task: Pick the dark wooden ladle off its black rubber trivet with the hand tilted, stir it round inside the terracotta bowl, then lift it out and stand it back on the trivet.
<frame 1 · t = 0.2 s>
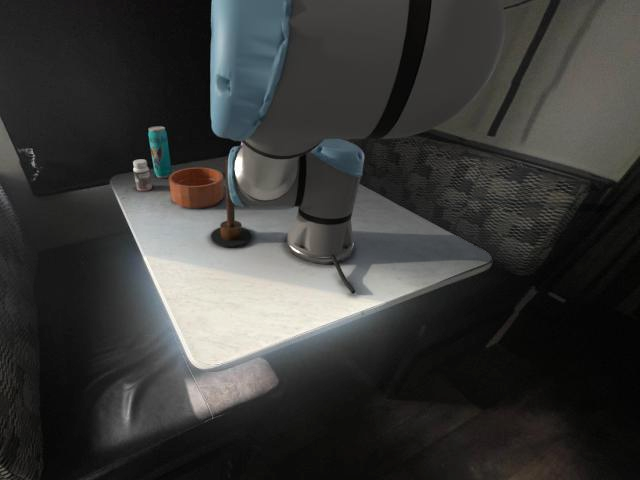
hand: (260, 145, 91), 15 cm above the table, tool tilted 35°, fingers open, 13 cm apart
ladle: (231, 235, 82), point 1 cm above the table, touching trivet
pill bottle: (144, 188, 107), on the table
teapot: (255, 167, 121), on the table
trivet: (231, 237, 82), on the table
beverage can: (163, 176, 115), on the table
bowl: (197, 198, 101), on the table
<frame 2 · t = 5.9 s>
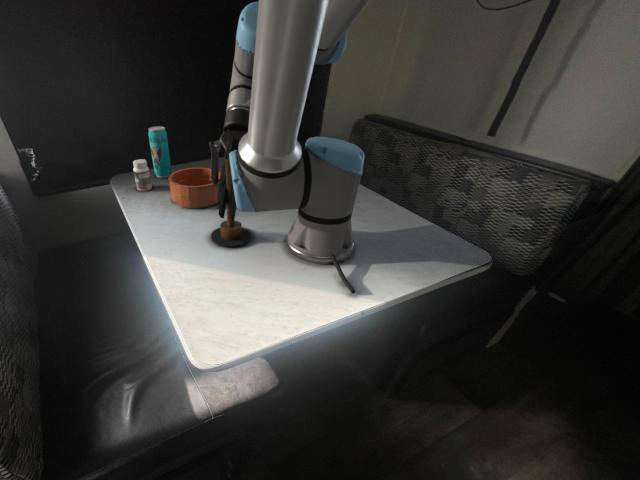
hand: (226, 216, 75), 7 cm above the table, tool tilted 45°, fingers closed on ladle, 2 cm apart
ladle: (231, 235, 82), point 1 cm above the table, touching gripper, trivet
everything else where it was.
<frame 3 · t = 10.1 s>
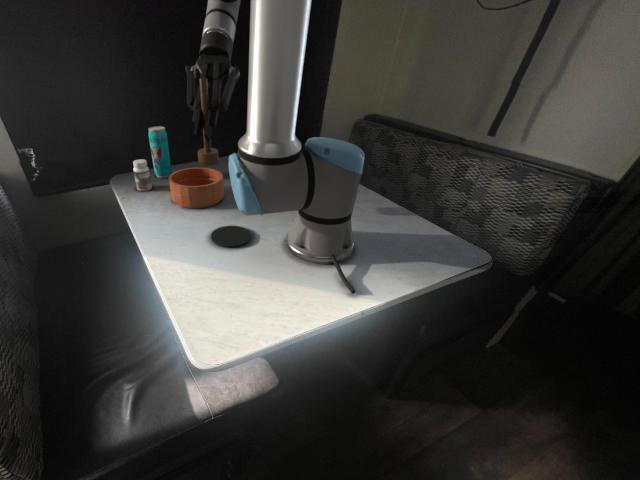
hand: (201, 137, 78), 20 cm above the table, tool tilted 45°, fingers closed on ladle, 2 cm apart
ladle: (208, 162, 85), point 13 cm above the table, touching gripper
everything else where it was.
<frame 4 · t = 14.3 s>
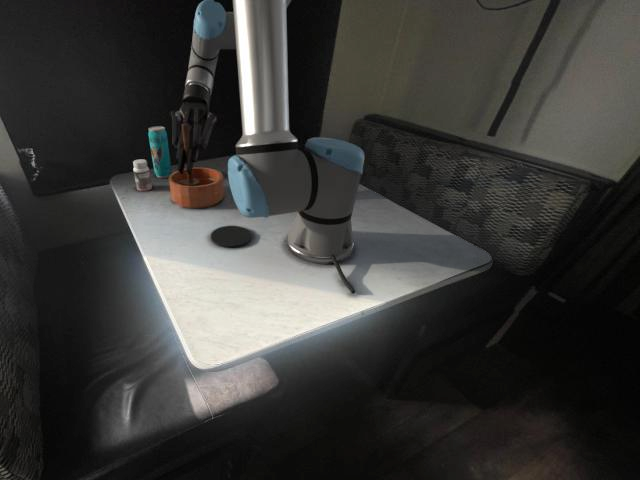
hand: (184, 171, 92), 9 cm above the table, tool tilted 45°, fingers closed on ladle, 2 cm apart
ladle: (191, 190, 100), point 2 cm above the table, touching gripper
everything else where it was.
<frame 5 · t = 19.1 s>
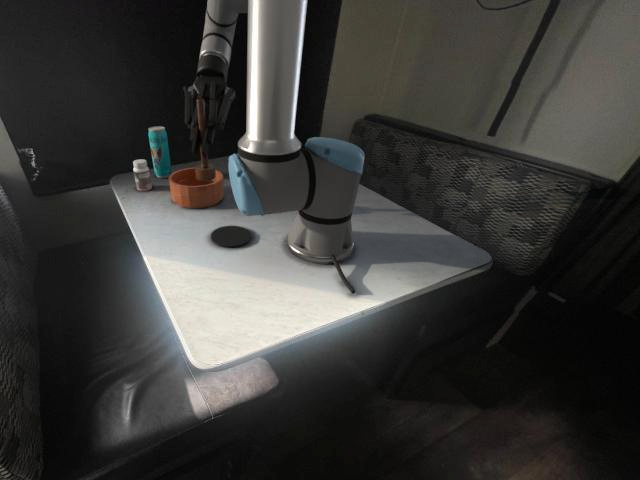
hand: (199, 155, 81), 16 cm above the table, tool tilted 45°, fingers closed on ladle, 2 cm apart
ladle: (205, 177, 88), point 9 cm above the table, touching gripper
everything else where it was.
when the fingers open (7 cm above the table, at t = 22.8 s): ladle stays where it is, resting on trivet.
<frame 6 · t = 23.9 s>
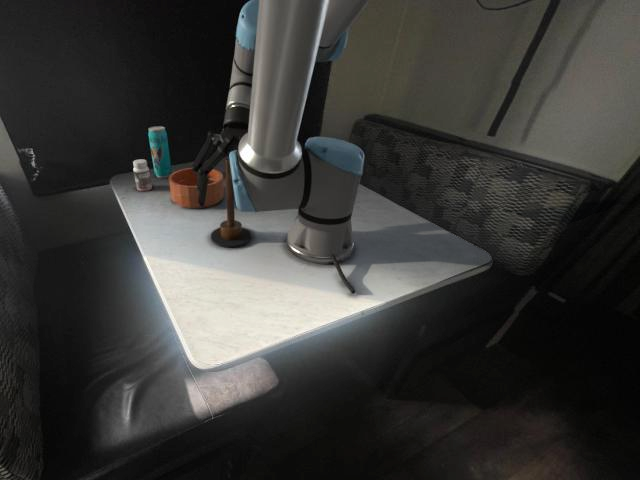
hand: (226, 207, 75), 9 cm above the table, tool tilted 45°, fingers open, 11 cm apart
ladle: (231, 234, 82), point 1 cm above the table, touching trivet
everything else where it was.
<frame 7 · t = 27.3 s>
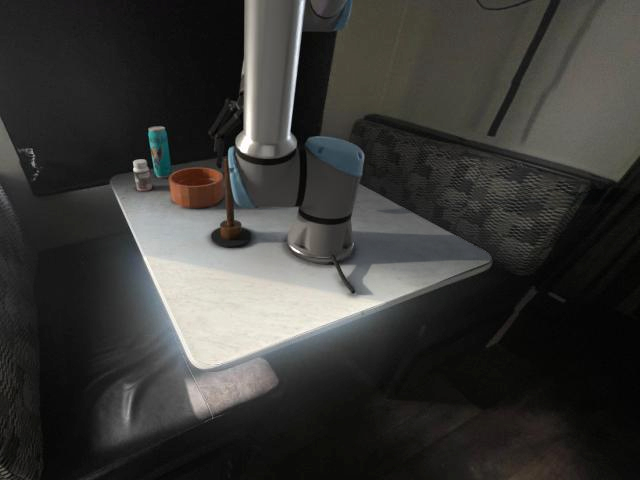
hand: (244, 168, 84), 12 cm above the table, tool tilted 40°, fingers open, 13 cm apart
nothing on the table moved.
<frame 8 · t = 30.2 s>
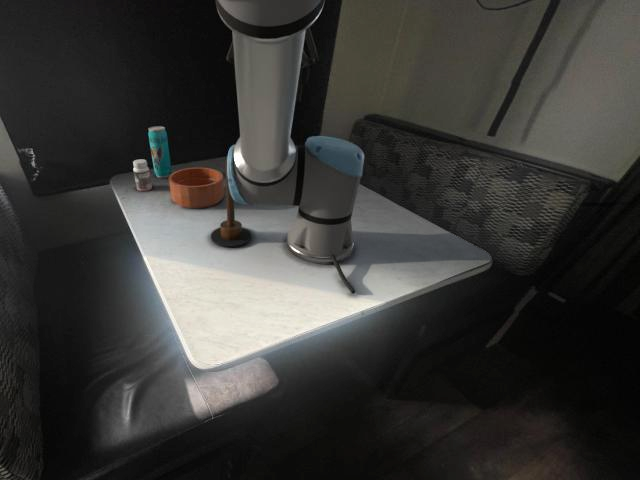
hand: (269, 100, 79), 27 cm above the table, tool pointing down, fingers open, 13 cm apart
nothing on the table moved.
at the end: ladle 0.2 cm off-centre on the trivet, point 0.6 cm above the trivet's base; ladle tilted 0°; ladle touching trivet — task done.
